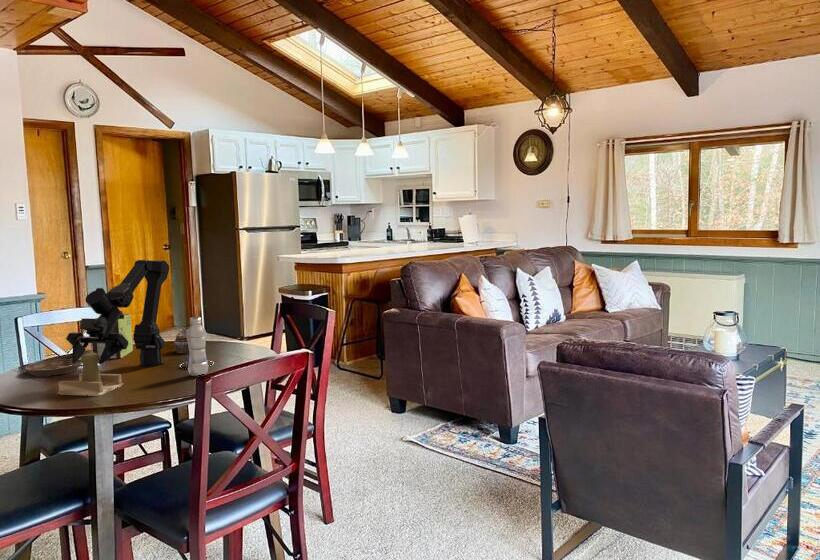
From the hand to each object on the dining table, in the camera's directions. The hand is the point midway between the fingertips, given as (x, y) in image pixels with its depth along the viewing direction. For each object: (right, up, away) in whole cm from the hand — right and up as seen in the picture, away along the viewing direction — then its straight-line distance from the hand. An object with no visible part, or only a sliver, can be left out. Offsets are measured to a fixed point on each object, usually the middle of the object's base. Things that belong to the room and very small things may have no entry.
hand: (86, 363), depth 192 cm
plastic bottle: (+29, -7, +18) cm, 35 cm away
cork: (+1, -8, +2) cm, 8 cm away
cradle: (0, -9, +2) cm, 9 cm away
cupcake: (+11, -3, +56) cm, 58 cm away
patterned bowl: (+24, -6, +32) cm, 40 cm away
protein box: (-17, -4, +53) cm, 56 cm away
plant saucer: (-26, -7, +28) cm, 38 cm away
